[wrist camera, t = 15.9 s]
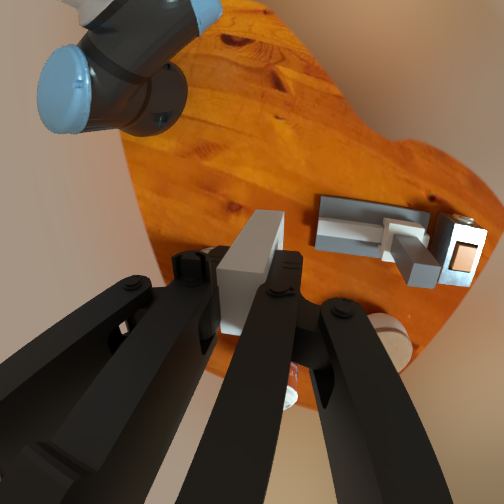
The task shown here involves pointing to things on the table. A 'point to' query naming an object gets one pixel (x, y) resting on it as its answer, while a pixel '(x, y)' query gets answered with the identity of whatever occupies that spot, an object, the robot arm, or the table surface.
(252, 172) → the table surface
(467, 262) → the button
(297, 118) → the table surface
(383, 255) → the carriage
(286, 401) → the paper cup
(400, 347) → the lidded bowl
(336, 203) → the rail bed
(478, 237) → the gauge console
